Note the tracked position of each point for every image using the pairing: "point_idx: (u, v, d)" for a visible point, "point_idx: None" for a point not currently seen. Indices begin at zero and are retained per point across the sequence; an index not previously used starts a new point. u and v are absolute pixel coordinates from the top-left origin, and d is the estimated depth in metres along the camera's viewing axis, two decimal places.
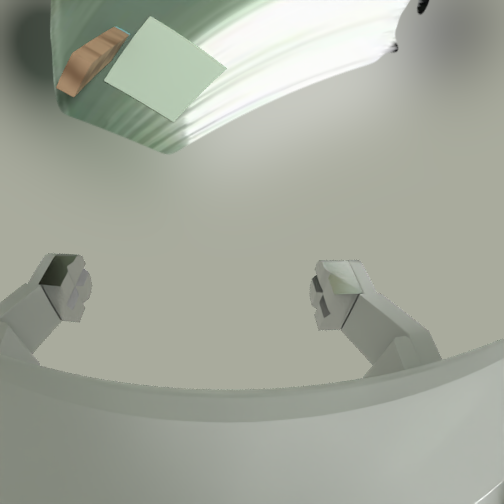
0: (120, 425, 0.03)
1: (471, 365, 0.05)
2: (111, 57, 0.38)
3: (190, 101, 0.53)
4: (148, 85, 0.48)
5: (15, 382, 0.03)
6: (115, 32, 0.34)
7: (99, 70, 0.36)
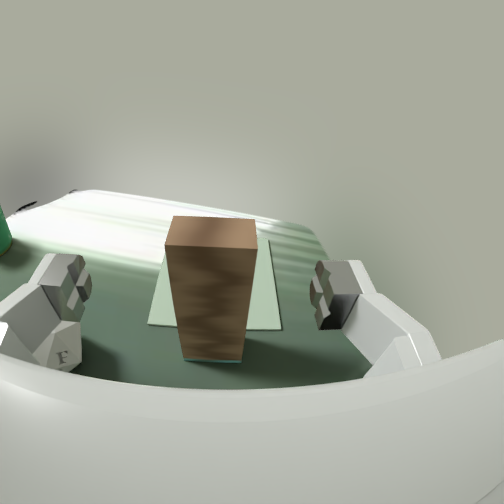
0: (120, 425, 0.03)
1: (471, 365, 0.05)
2: None
3: None
4: None
5: (15, 382, 0.03)
6: None
7: None
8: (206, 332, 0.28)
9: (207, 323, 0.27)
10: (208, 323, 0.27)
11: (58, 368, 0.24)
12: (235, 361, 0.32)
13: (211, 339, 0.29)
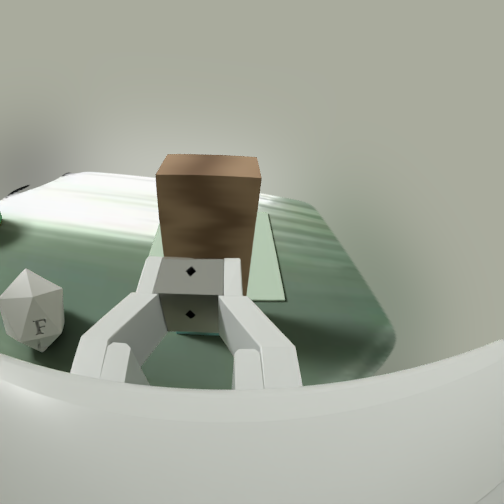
0: (120, 425, 0.03)
1: (471, 365, 0.05)
2: None
3: None
4: None
5: (15, 382, 0.03)
6: None
7: None
8: None
9: None
10: None
11: (35, 340, 0.20)
12: None
13: None
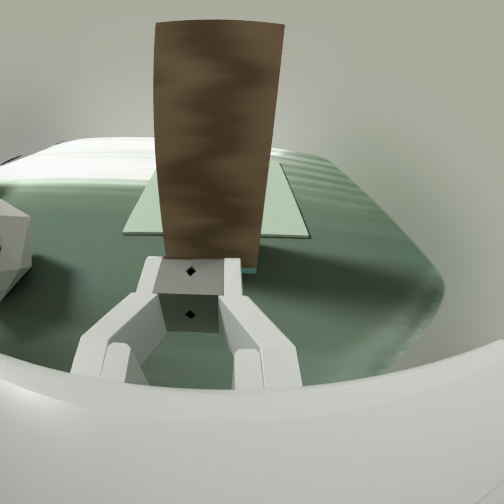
0: (120, 425, 0.03)
1: (471, 365, 0.05)
2: None
3: None
4: None
5: (15, 382, 0.03)
6: None
7: None
8: (204, 197, 0.18)
9: (205, 173, 0.17)
10: (207, 174, 0.17)
11: None
12: (247, 269, 0.22)
13: (210, 215, 0.19)
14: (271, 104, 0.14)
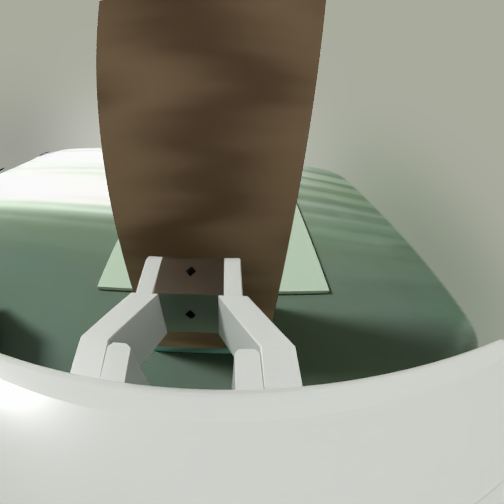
0: (120, 425, 0.03)
1: (471, 365, 0.05)
2: None
3: None
4: None
5: (15, 382, 0.03)
6: None
7: None
8: None
9: (191, 245, 0.11)
10: (195, 246, 0.11)
11: None
12: None
13: None
14: (300, 136, 0.09)
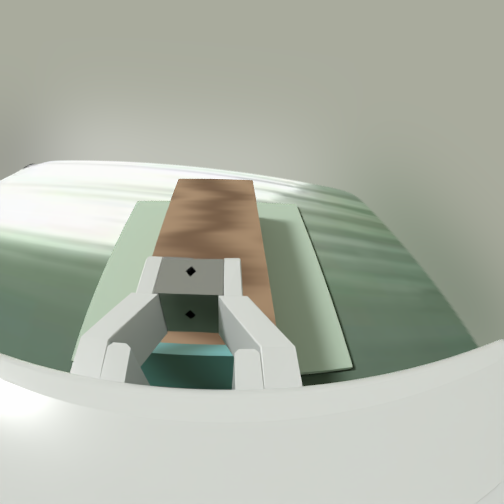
0: (120, 425, 0.03)
1: (471, 365, 0.05)
2: None
3: None
4: None
5: (15, 382, 0.03)
6: None
7: None
8: (200, 257, 0.17)
9: (203, 240, 0.18)
10: (205, 241, 0.18)
11: None
12: None
13: None
14: (253, 206, 0.22)
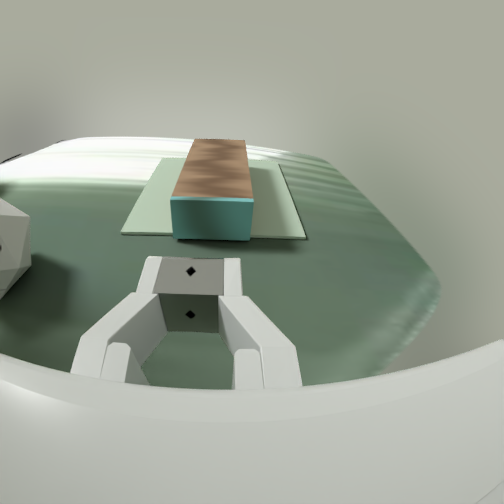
0: (120, 425, 0.03)
1: (471, 365, 0.05)
2: None
3: None
4: (252, 188, 0.34)
5: (15, 382, 0.03)
6: None
7: None
8: (210, 169, 0.28)
9: (212, 163, 0.29)
10: (213, 163, 0.29)
11: None
12: (245, 199, 0.23)
13: (214, 174, 0.27)
14: (244, 151, 0.33)
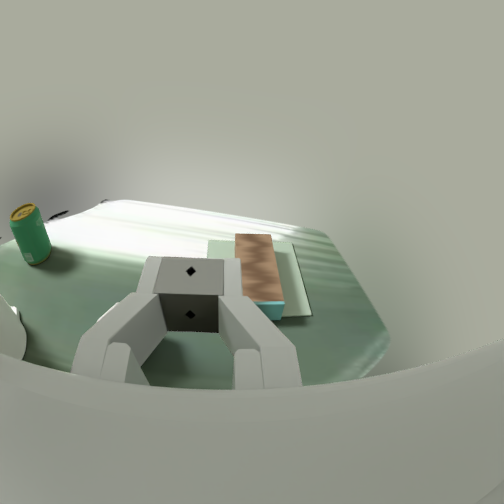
0: (120, 425, 0.03)
1: (471, 365, 0.05)
2: None
3: None
4: None
5: (15, 382, 0.03)
6: None
7: None
8: (255, 273, 0.47)
9: (254, 266, 0.48)
10: (255, 267, 0.48)
11: None
12: (279, 302, 0.42)
13: (258, 279, 0.46)
14: (272, 250, 0.52)
